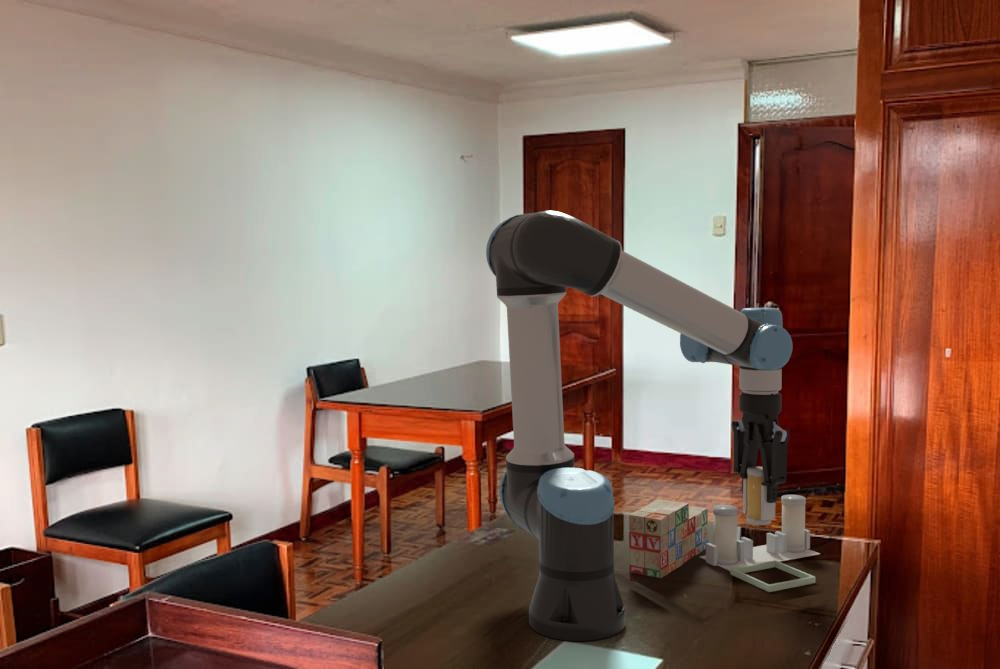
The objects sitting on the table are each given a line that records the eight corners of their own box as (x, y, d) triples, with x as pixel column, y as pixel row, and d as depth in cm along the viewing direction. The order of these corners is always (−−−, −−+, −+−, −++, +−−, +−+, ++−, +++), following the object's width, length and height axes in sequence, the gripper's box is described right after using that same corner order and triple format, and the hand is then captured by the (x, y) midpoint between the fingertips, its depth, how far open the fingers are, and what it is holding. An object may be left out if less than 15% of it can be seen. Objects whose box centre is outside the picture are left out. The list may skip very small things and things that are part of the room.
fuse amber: (757, 526, 168) (757, 472, 167) (741, 520, 172) (742, 467, 171) (776, 523, 170) (776, 470, 169) (760, 517, 174) (760, 465, 173)
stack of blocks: (678, 550, 181) (678, 488, 180) (708, 555, 177) (708, 492, 176) (628, 581, 163) (628, 513, 162) (661, 587, 159) (660, 518, 159)
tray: (768, 600, 152) (768, 586, 152) (730, 582, 161) (730, 568, 161) (815, 591, 156) (815, 576, 156) (775, 573, 165) (775, 560, 165)
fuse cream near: (722, 566, 165) (723, 511, 164) (707, 559, 169) (708, 506, 168) (742, 563, 167) (742, 509, 166) (727, 556, 171) (727, 503, 170)
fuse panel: (725, 579, 163) (725, 552, 162) (694, 565, 171) (694, 538, 170) (822, 561, 172) (822, 535, 171) (789, 548, 180) (789, 523, 180)
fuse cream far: (792, 554, 172) (792, 501, 171) (776, 547, 176) (776, 496, 175) (810, 550, 173) (810, 498, 173) (794, 544, 177) (794, 493, 177)
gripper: (809, 395, 163) (807, 525, 164) (745, 385, 178) (744, 503, 180) (776, 398, 160) (774, 530, 161) (714, 387, 175) (713, 507, 177)
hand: (758, 515), depth 171 cm, fingers closed on fuse amber, 4 cm apart
